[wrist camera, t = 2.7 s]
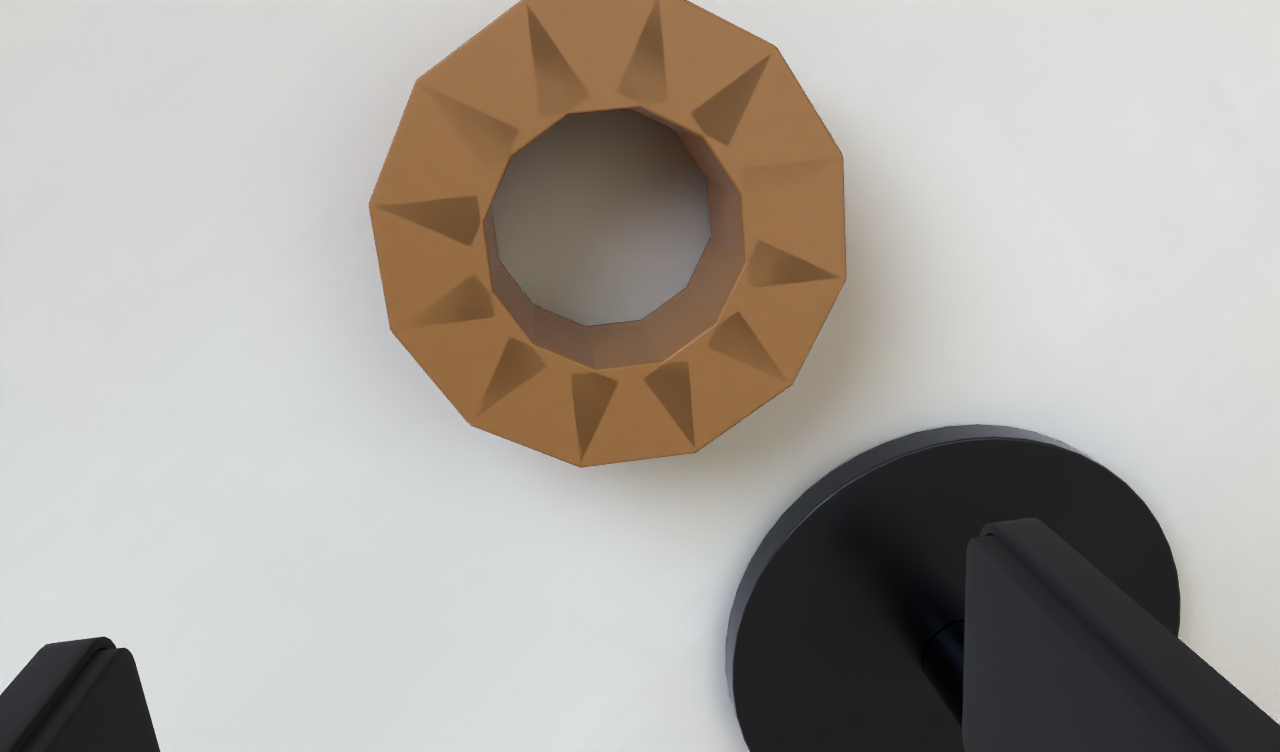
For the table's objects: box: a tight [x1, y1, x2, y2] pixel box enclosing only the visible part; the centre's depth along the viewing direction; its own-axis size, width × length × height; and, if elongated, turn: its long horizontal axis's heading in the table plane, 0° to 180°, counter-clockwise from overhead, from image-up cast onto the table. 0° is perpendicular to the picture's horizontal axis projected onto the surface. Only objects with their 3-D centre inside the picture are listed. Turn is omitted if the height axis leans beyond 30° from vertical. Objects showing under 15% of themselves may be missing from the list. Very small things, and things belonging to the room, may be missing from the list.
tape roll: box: [369, 0, 846, 467], centre depth 24 cm, size 11×11×4 cm
